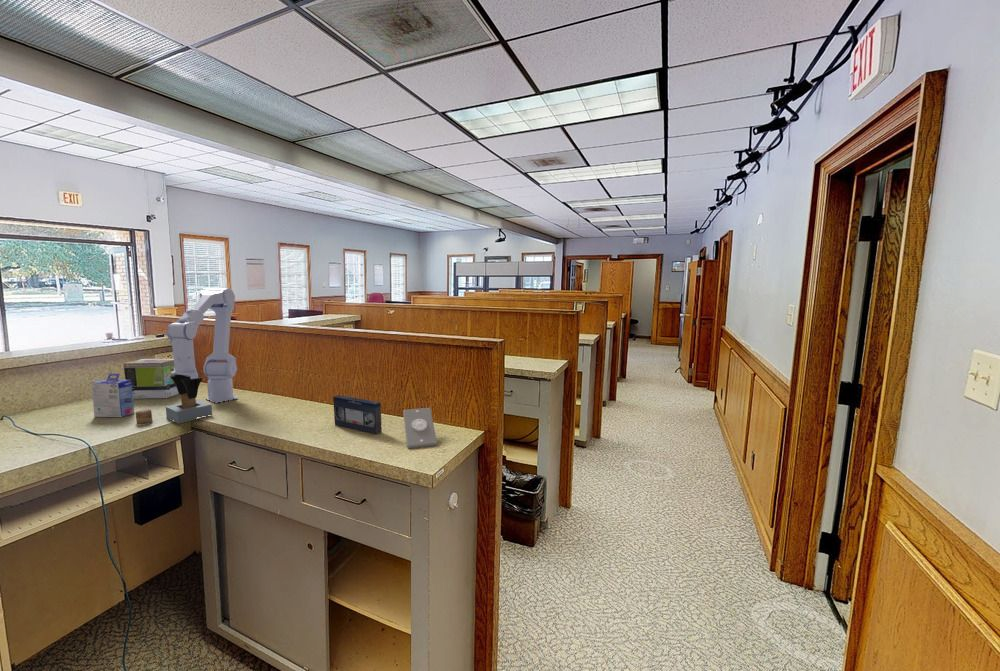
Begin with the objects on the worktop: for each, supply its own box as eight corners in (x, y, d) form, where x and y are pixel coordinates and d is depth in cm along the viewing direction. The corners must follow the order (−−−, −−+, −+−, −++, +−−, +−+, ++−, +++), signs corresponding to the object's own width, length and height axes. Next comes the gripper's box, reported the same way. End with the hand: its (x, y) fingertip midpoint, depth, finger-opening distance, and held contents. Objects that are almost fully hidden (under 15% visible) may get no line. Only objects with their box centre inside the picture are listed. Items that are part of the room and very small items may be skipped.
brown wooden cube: (134, 423, 138) (133, 411, 138) (149, 420, 142) (148, 408, 141) (139, 425, 136) (137, 414, 136) (154, 422, 139) (153, 410, 139)
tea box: (183, 392, 176) (180, 357, 174) (165, 399, 166) (162, 362, 164) (146, 392, 175) (142, 357, 173) (126, 399, 165) (122, 362, 163)
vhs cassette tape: (334, 425, 138) (332, 396, 137) (341, 423, 141) (339, 394, 139) (375, 435, 130) (374, 404, 128) (382, 432, 132) (381, 402, 131)
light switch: (407, 444, 119) (403, 407, 130) (407, 457, 122) (402, 420, 133) (437, 441, 121) (430, 405, 133) (436, 454, 125) (429, 418, 136)
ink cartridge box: (136, 412, 149) (131, 373, 147) (121, 417, 143) (117, 376, 141) (108, 412, 149) (104, 372, 147) (93, 417, 144) (88, 376, 142)
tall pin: (180, 417, 145) (178, 394, 144) (194, 414, 148) (192, 392, 147) (185, 419, 142) (183, 396, 141) (199, 416, 146) (197, 394, 145)
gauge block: (166, 417, 144) (165, 406, 143) (199, 410, 152) (198, 399, 151) (178, 423, 138) (177, 411, 138) (212, 415, 147) (211, 404, 146)
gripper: (161, 356, 143) (165, 395, 145) (178, 362, 135) (182, 402, 137) (185, 353, 149) (189, 390, 151) (203, 358, 141) (207, 397, 143)
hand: (187, 396), depth 144 cm, fingers open, 7 cm apart
